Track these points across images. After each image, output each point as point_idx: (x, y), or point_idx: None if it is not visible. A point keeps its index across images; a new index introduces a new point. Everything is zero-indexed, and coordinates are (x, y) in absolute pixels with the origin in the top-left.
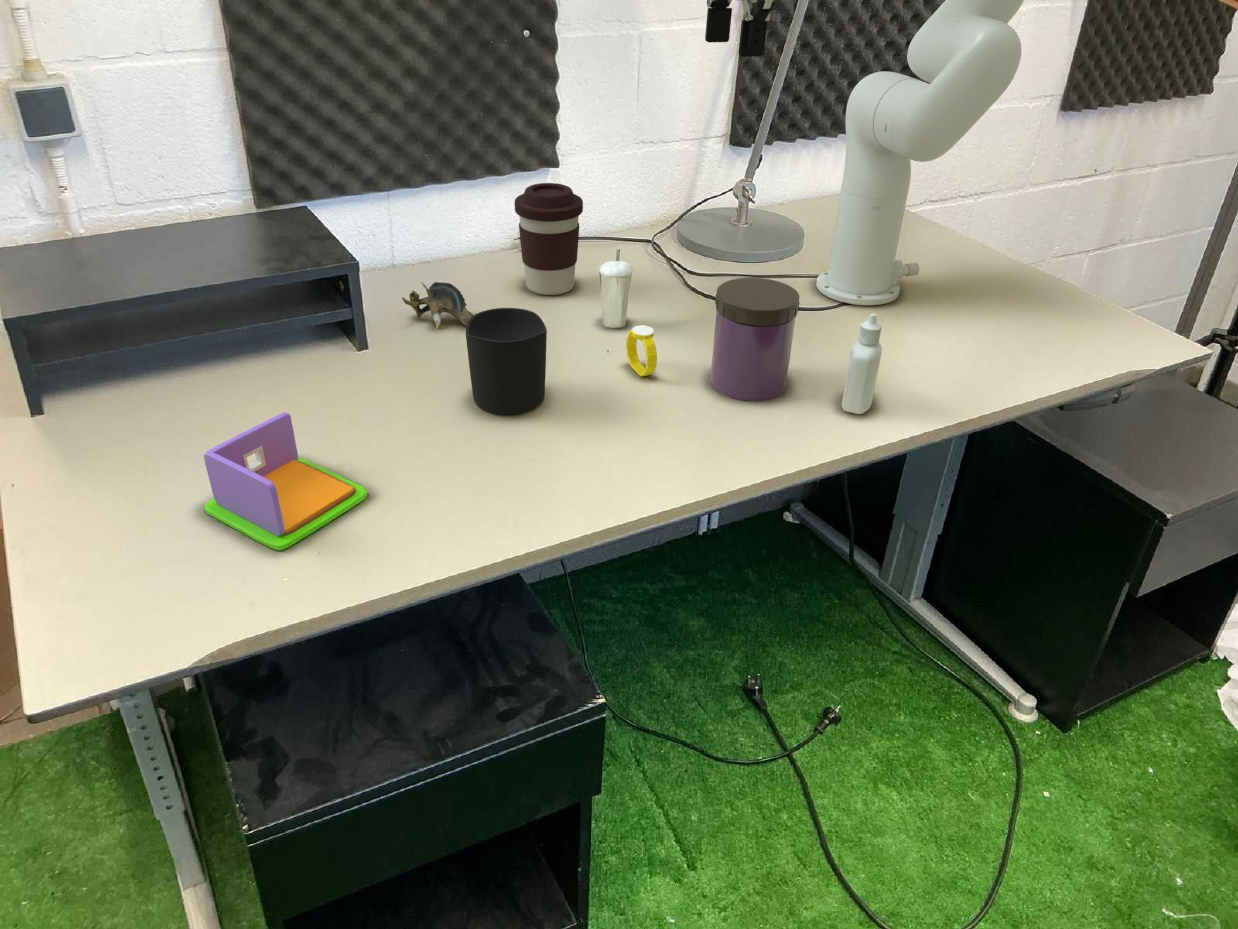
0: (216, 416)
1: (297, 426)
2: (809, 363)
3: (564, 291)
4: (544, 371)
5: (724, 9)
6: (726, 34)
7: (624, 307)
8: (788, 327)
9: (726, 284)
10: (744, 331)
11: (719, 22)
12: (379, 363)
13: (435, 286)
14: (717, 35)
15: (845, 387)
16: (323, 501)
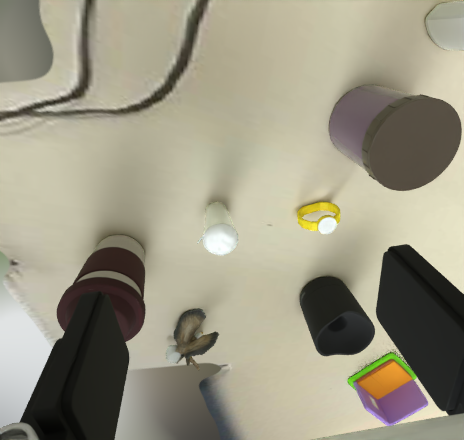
0: (290, 411)
1: (313, 382)
2: (350, 38)
3: (140, 245)
4: (346, 292)
5: (75, 431)
6: (105, 319)
7: (227, 213)
8: None
9: (380, 174)
10: None
11: (104, 387)
12: (249, 358)
13: (187, 355)
14: (116, 346)
15: (458, 49)
16: (399, 370)
